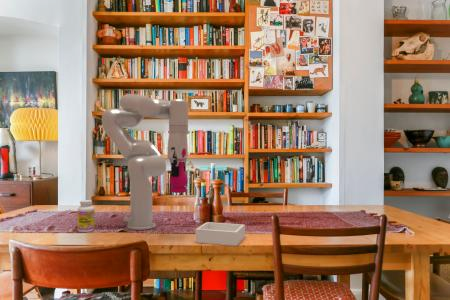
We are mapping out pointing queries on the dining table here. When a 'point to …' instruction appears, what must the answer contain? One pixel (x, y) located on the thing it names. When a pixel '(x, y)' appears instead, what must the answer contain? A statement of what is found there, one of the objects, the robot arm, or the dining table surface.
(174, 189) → the pepper mill
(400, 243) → the dining table surface
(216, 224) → the tote
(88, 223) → the supplement bottle
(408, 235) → the dining table surface
